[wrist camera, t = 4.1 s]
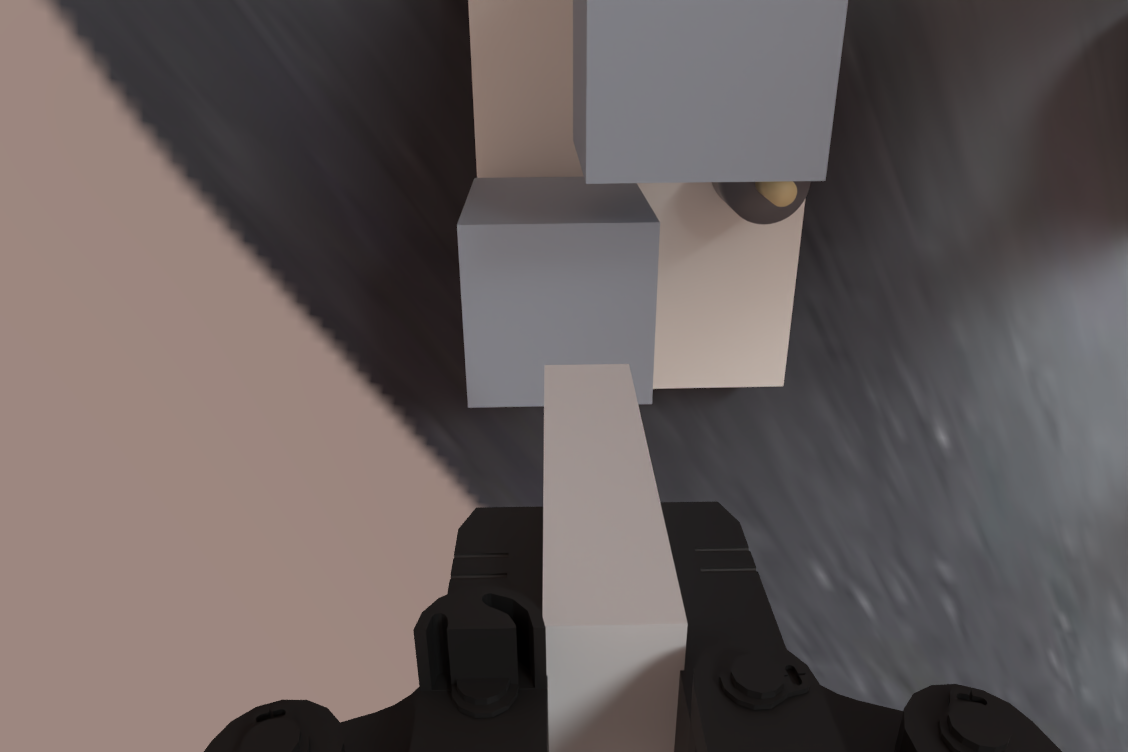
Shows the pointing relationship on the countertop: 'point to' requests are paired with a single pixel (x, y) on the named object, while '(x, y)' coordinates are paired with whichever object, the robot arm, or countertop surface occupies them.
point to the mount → (685, 210)
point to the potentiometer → (763, 199)
